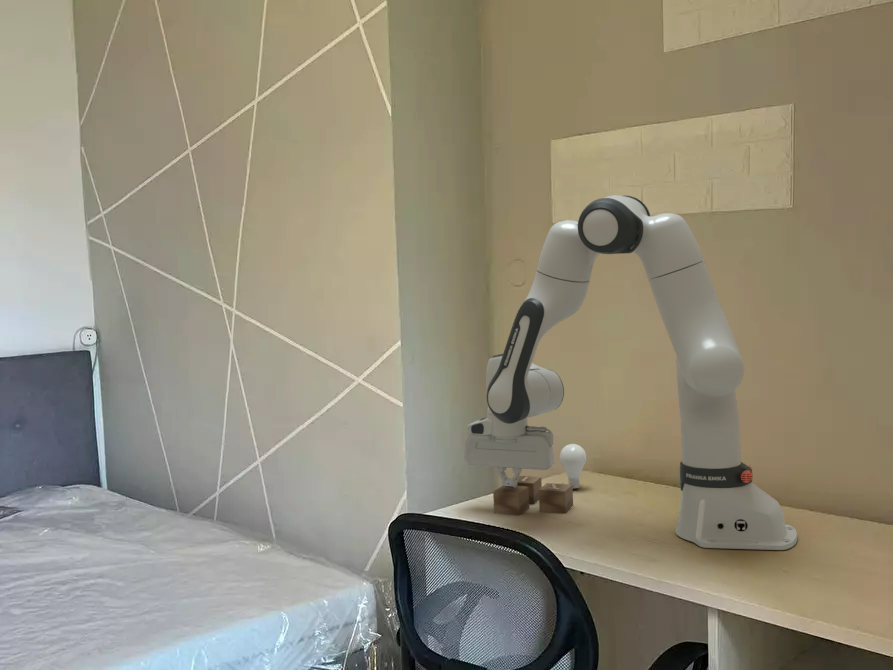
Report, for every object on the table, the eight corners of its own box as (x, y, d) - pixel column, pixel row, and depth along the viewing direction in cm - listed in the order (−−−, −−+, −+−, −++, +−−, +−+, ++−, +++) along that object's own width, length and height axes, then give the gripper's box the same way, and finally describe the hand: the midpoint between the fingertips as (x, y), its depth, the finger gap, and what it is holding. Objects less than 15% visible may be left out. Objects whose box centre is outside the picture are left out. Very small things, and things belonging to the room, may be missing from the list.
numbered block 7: (573, 506, 198) (572, 483, 198) (566, 513, 193) (565, 490, 192) (547, 504, 201) (546, 482, 200) (539, 512, 195) (538, 489, 195)
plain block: (529, 508, 198) (528, 486, 198) (519, 516, 193) (518, 493, 192) (504, 506, 201) (503, 484, 200) (494, 513, 196) (493, 491, 195)
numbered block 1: (542, 498, 206) (541, 476, 206) (534, 504, 201) (533, 482, 201) (517, 496, 209) (516, 475, 208) (509, 503, 203) (508, 481, 203)
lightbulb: (556, 487, 214) (554, 443, 214) (580, 484, 216) (578, 440, 215) (567, 493, 208) (566, 447, 208) (592, 490, 210) (590, 445, 209)
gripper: (557, 424, 194) (559, 486, 195) (471, 421, 202) (473, 480, 203) (548, 429, 188) (550, 493, 189) (460, 426, 197) (462, 487, 198)
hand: (509, 486), depth 196 cm, fingers closed
